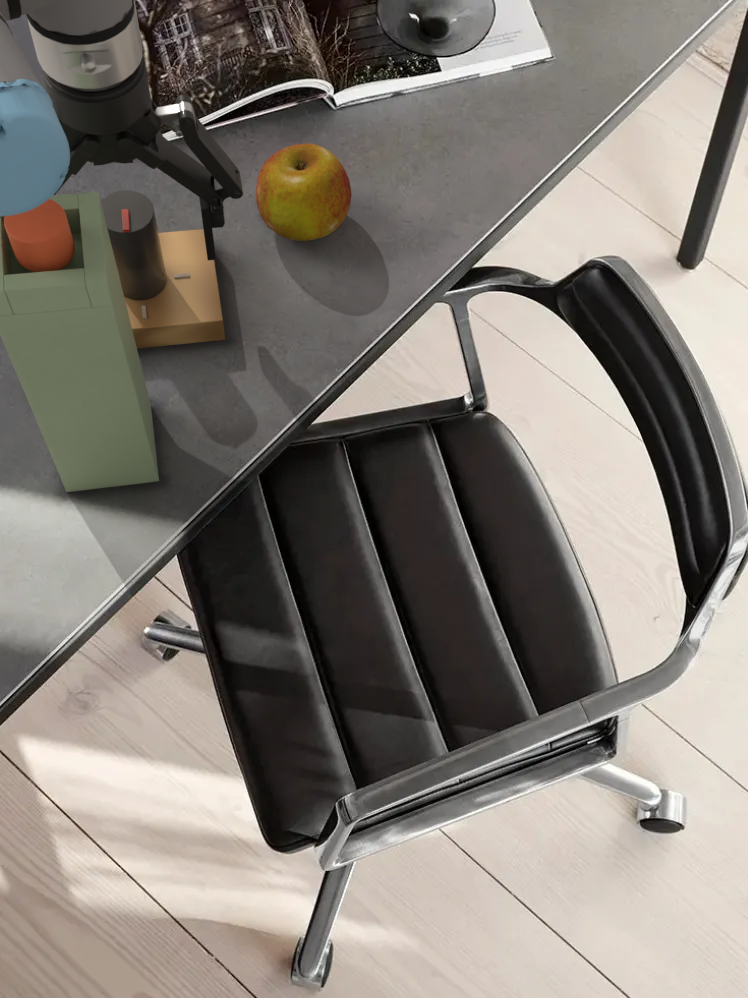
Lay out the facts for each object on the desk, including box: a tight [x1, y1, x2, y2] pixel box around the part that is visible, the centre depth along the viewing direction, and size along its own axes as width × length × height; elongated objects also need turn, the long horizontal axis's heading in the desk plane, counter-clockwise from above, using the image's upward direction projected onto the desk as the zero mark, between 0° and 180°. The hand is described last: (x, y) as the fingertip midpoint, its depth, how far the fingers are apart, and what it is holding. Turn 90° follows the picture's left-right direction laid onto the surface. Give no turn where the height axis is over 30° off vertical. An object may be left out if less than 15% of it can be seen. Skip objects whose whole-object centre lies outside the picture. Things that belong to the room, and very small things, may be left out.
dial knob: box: [100, 189, 167, 300], centre depth 101 cm, size 5×5×9 cm
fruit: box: [255, 143, 352, 242], centre depth 110 cm, size 10×9×8 cm
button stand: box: [0, 191, 160, 493], centre depth 89 cm, size 8×8×27 cm
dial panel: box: [124, 228, 226, 349], centre depth 106 cm, size 14×11×3 cm
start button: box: [4, 199, 75, 272], centre depth 76 cm, size 4×4×3 cm
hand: (134, 255), depth 102 cm, fingers open, 13 cm apart
